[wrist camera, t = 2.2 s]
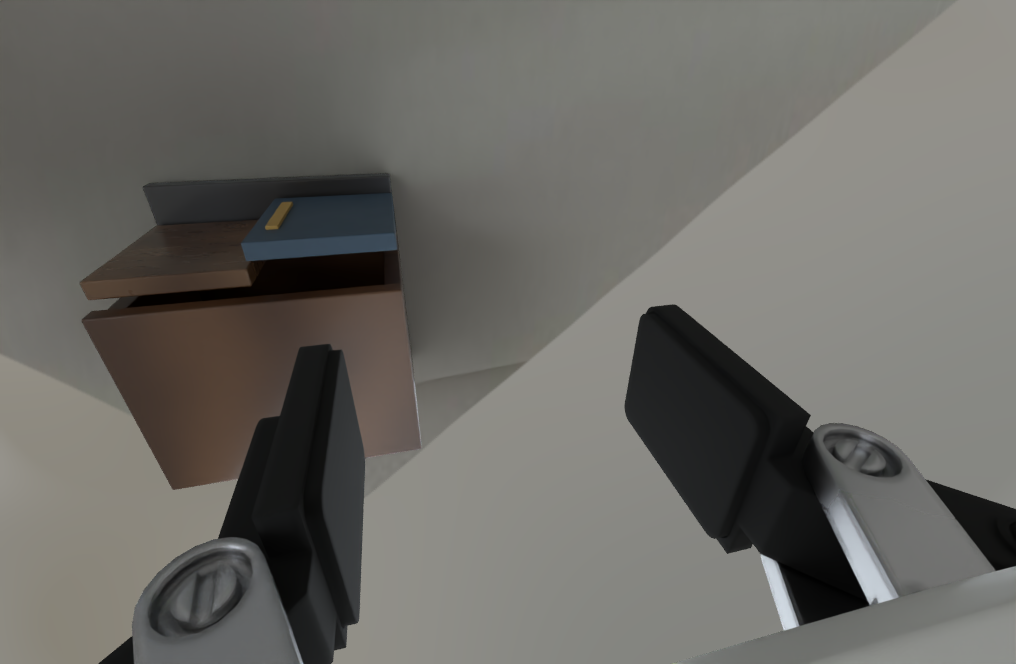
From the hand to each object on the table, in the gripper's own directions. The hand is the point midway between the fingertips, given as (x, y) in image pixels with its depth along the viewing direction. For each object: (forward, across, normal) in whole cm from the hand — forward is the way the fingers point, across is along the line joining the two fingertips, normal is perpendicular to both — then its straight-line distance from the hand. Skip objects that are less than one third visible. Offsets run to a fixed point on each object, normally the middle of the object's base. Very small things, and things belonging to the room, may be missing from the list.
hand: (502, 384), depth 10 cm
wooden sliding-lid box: (+20, +8, +6) cm, 22 cm away
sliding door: (+18, +5, 0) cm, 19 cm away
